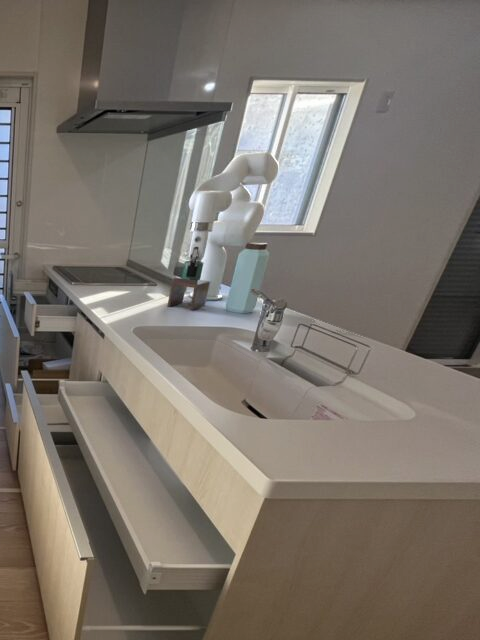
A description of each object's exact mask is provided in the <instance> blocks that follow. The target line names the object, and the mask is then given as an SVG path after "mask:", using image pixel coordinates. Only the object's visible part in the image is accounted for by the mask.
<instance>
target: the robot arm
mask: <svg viewBox="0 0 480 640" xmlns="http://www.w3.org/2000/svg"><path fill="white" fill-rule="evenodd" d="M279 172H280V165H279V162H278V160H277V159H276V157H275V156H274V155H273V154H272V153H270V152H266V151H259V152H248V153H247V152H246V153H245V152H244V153H241V154H237V155H236V156H234V157H233V158H232V159H231V161H229V163H228V165H227V166H226V167H225V168H224V170H222V172H221V173H219V174H217V175H214V176H212V177H210V178H208V179H206V180H204V181H203V182H201V183H200V184H199V185H198V186H197V187H196V188H195V189H194V191H193V192H192V194H191V196H190V198H189V201H188V207H189V210H190V211H192V216H191V222H190V227H189V232H192V234H191V239H190V245H189V251H188V259H189V261H190V262H189V266H188V269H187V274H186V276H187V277H195V276H196V271H197V263H198V261H200V262H204V264H203V268H202V273H201V278H200V280H203V281H210V284H209V289H208V293H207V298H206V301H216V300H217V301H218V300H221V299H222V298H223V295H222V294H220V291H221V290H222V286H221V285H222V281H223V277H224V273H225V270H226V269H225V268H226V264H227V261H228V253H227V250H226V248H225V247H224V246H226V247H227V246H228V247H246V244H247V243H251V241H252V240H253V237H254V235H255V233H256V231H257V230H258V228H259V226H260V224H261V223H262V221H263V218H264V216H265V215H264V214H265V205H264V204H263V203H262V202H259V201H251V200H252V194H251V193H250V191H249V189H247V187H246V186H253V185H254V186H255V185H256V186H257V185H269V184H272V183H273V182H274V181H275V180H276V179H277V177H278V175H279ZM217 213H218V215H217V220H215V219H216V214H217ZM192 296H193V291H192V292H190V293H189V297H191V298H192Z"/></svg>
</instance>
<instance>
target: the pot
mask: <svg viewBox="0 0 480 640" xmlns="http://www.w3.org/2000/svg"><path fill="white" fill-rule="evenodd" d="M189 262H190V260H185V261H184V264H183V269H182V274H181V278H183V279H191V280H200V278H201V273H202V268H203V264H204V262H201V260H199V261H198V263H197V271H196V276H195V277H187V276H186V274H187V269H188V266H189Z"/></svg>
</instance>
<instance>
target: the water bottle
mask: <svg viewBox="0 0 480 640" xmlns="http://www.w3.org/2000/svg"><path fill="white" fill-rule="evenodd" d="M267 246H268V242H267V243H266V242H249V243H247V244H246V245H245V246H244V249H242V250H241V251H240V252H239V253H238V255H237V259H236V264H235V268H234V272H233V276H232V280H231V283H230V288H229V292H228V295H227V300H226V304H225V308H226V310H227V311H229V312H232V313H237V314H251V313H252V312H253V311H254V310H255V309H256V305H257V301H258V298H259V296H258V297H256V296H255V295H253V294H252V293H251V289H256V290H258V291H259V292H260V291H261V287H262V284H263V280H264V278H265V273H266V269H267V266H268V263H269V260H270V253H269V251H268V250H267Z"/></svg>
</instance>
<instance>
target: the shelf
mask: <svg viewBox="0 0 480 640" xmlns="http://www.w3.org/2000/svg"><path fill="white" fill-rule="evenodd" d="M209 284H210V281H203V280H191V279H183V278H182V277H173V279H172V281H171V285H170V289H169V295H168V301H167V305H166V306H167V307H173V306H175V305H178V304H181V303H184V298H185V292H186V288H193V291H192V292H193V296H192V297H191V301H190V304H189V305H190V306H189V311H194V310H198V309H201V308H203V307H205V306H206V305H205V304H206V302H207V300H206V298H207V293H208V289H209Z"/></svg>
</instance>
